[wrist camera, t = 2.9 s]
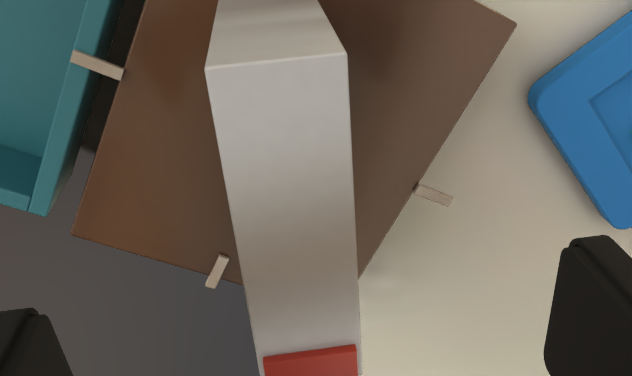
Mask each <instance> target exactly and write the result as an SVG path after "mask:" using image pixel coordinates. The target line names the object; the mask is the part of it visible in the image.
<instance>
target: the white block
mask: <svg viewBox="0 0 632 376" xmlns="http://www.w3.org/2000/svg"><path fill="white" fill-rule="evenodd" d="M204 71H205V77H206V82H207V88H208V93H209V99H210V104H211V109H212V115H213V120H214V126H215V131H216V137H217V142H218V148H219V153H220V159H221V164H222V170H223V175H224V181H225V186H226V192H227V197H228V203H229V208H230V214H231V219H232V224H233V230H234V235H235V241H236V246H237V252H238V257H239V263H240V268H241V274H242V279H243V285H244V290H245V296H246V300H247V306H248V312H249V317H250V322H251V328H252V334H253V339H254V345H255V350H256V356H257V361H258V366H259V371H260V376H361V375H362V353H361V332H360V311H359V290H358V269H357V248H356V227H355V206H354V185H353V164H352V143H351V122H350V101H349V80H348V59H347V53H346V51H345V49H344V47H343V45H342V44H341V42H340V40H339V38H338V36H337V35H336V33H335V31H334V29H333V27H332V26H331V24H330V22H329V20H328V18H327V17H326V15H325V13H324V11H323V9H322V8H321V6H320V4H319V2H318V0H219V1H218V5H217V10H216V15H215V19H214V24H213V29H212V34H211V39H210V44H209V49H208V54H207V58H206V63H205V68H204Z"/></svg>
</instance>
